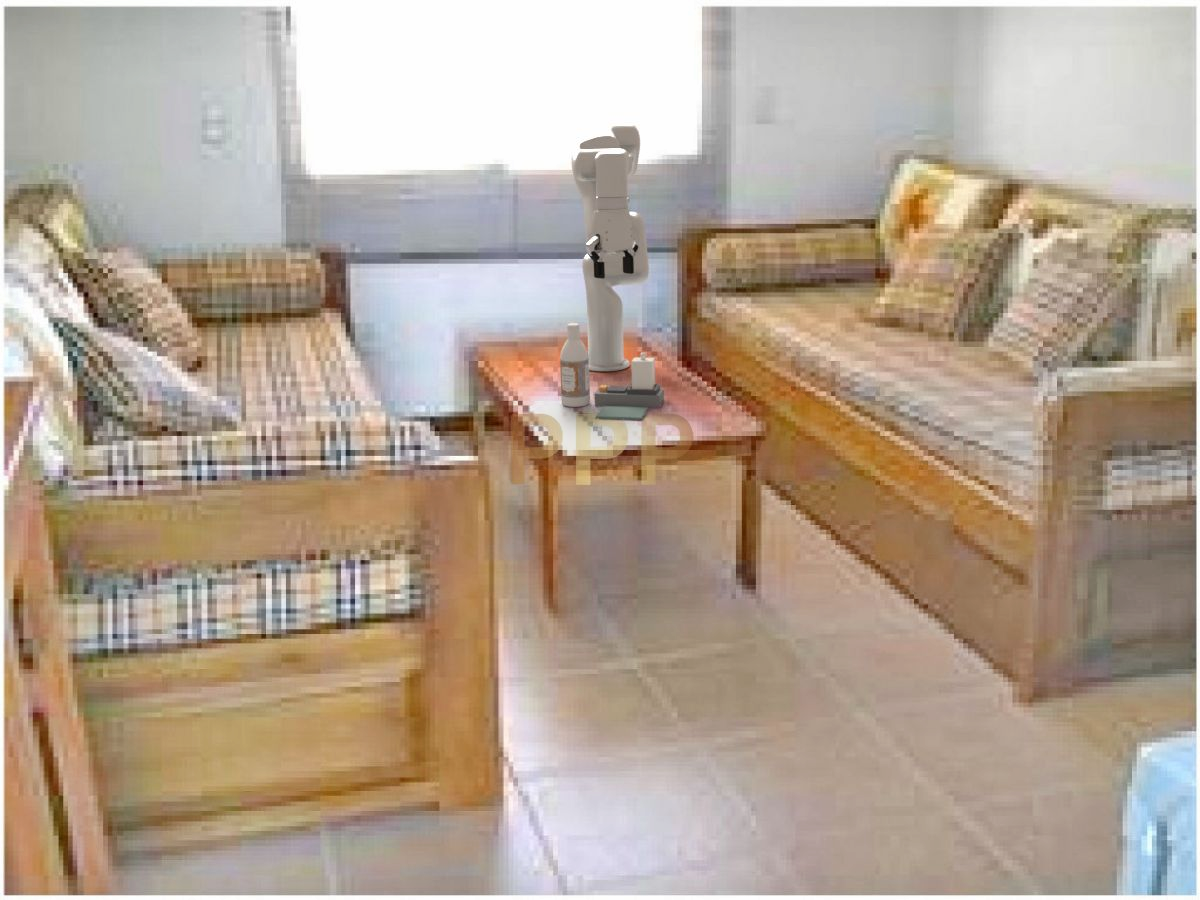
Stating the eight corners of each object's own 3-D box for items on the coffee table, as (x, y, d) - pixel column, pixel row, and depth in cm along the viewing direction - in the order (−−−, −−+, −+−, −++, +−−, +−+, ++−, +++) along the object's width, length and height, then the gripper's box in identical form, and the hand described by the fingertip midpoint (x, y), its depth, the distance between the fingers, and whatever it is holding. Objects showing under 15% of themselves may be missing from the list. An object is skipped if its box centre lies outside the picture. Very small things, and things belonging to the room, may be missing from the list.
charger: (634, 388, 340) (634, 350, 337) (654, 389, 339) (654, 351, 336) (632, 393, 336) (631, 354, 333) (652, 393, 335) (651, 355, 332)
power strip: (600, 397, 344) (600, 381, 343) (664, 399, 341) (663, 383, 340) (594, 405, 338) (594, 389, 336) (659, 407, 334) (659, 390, 333)
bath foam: (556, 405, 339) (553, 325, 333) (572, 398, 344) (569, 320, 338) (579, 409, 335) (576, 328, 329) (595, 402, 341) (593, 322, 334)
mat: (603, 408, 335) (603, 405, 335) (647, 409, 333) (647, 407, 333) (595, 418, 327) (595, 416, 327) (641, 420, 325) (641, 417, 324)
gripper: (627, 200, 339) (628, 270, 343) (574, 206, 327) (577, 278, 332) (648, 202, 333) (650, 272, 338) (596, 208, 322) (598, 281, 326)
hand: (614, 275), depth 335 cm, fingers open, 9 cm apart
